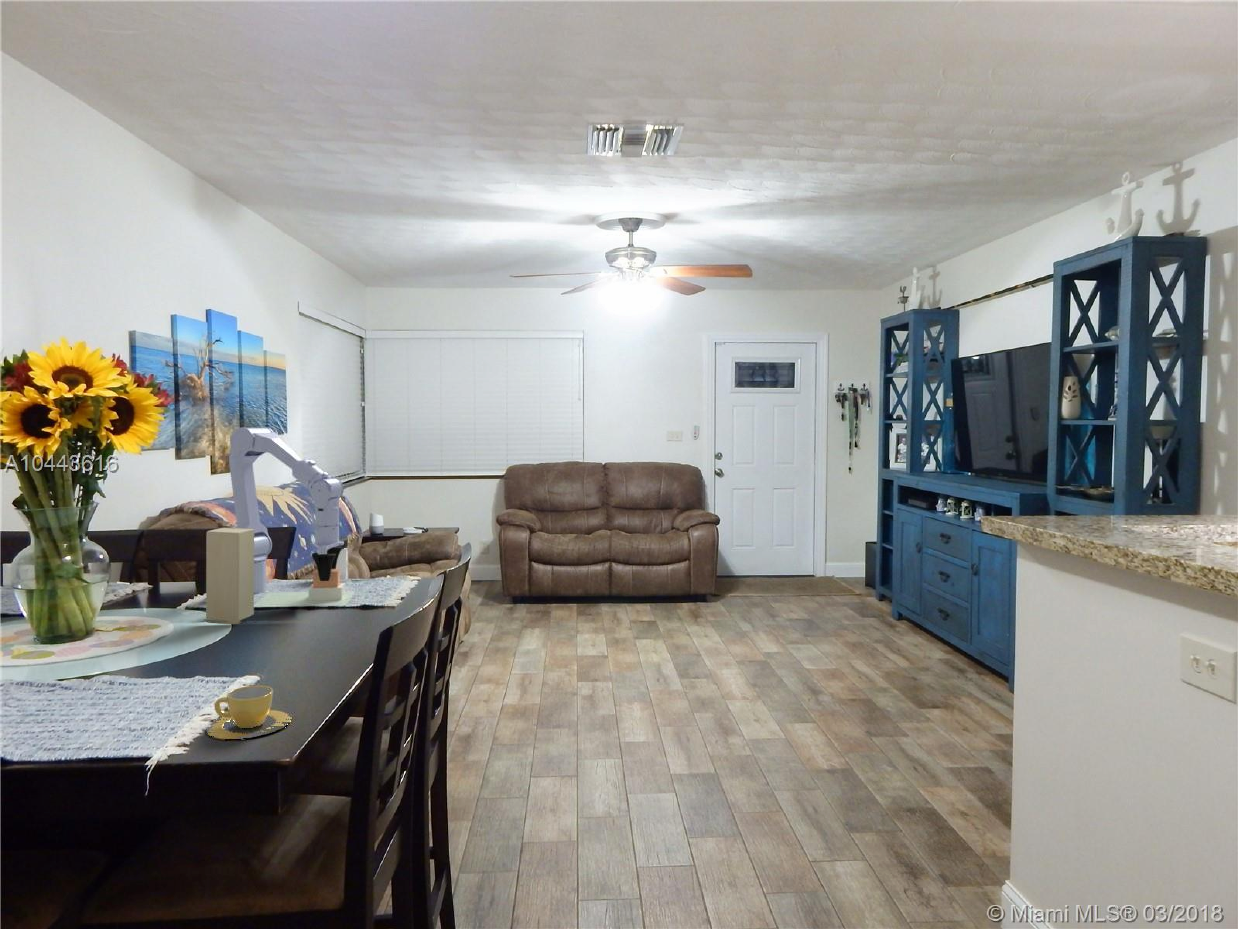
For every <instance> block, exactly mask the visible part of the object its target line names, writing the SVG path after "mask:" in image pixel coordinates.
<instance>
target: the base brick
mask: <svg viewBox="0 0 1238 929" xmlns="http://www.w3.org/2000/svg"><path fill="white" fill-rule="evenodd" d="M345 591H346V583H345V582H340V585H339V586H338V587H325V588H313V584H311V585H310V586H309V587H308V592H309V600H342V599H343V597H344V596H345Z"/></svg>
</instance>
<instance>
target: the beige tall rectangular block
mask: <svg viewBox="0 0 1238 929" xmlns="http://www.w3.org/2000/svg"><path fill="white" fill-rule="evenodd" d="M205 536H206V538H205V539H206V544H205V545H206V546H205V547H206V548H205V549H206V550H205V551H206V552H205V554H206V556H205V559H206V568H205V569H206V570H205V572H206V573H205V574H206V575H205V576H206V577H205V578H206V580H205V583H206V585H205V586H206V587H205V588H206V590H205V595H206V597H205V599H206V600H205V601H206V602H205V610H206V612H205V615H206V616H205V620H206V623H208V624H211V623H212V624H224V625H225V624H229V625H239V624H242V623H244V622H246V621H247V620H246V619H247V618H249V617H251V616H253V615H254V614H255V612H254V611H255V607H254V605H255V593H254V529H239V528H236V527H220V528H215V529H210V530H207V531H206V535H205Z"/></svg>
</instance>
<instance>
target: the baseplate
mask: <svg viewBox="0 0 1238 929" xmlns="http://www.w3.org/2000/svg"><path fill="white" fill-rule="evenodd" d="M355 593H356V590H345V596H344V597H343V599H342V600H309V591H287V592H285V591H284V592H282V591H281V592H279V591H277V592H267V593H266V594H264V596H262V597H261V598H260V599H259V600H258V601H257V602H256V603H254V608H274V607H275V608H278V607H279V608H281V607H316V606H317V607H318V606H319V607H322V606H347V605H348V604H349V602H350V600H351V599H352V597H353V596H354V595H355Z"/></svg>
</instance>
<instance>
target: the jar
mask: <svg viewBox="0 0 1238 929" xmlns="http://www.w3.org/2000/svg"><path fill="white" fill-rule="evenodd" d="M339 541H340V542H344V544H343V545H339V546H341V547H342V550H341V552H340V554H339V556H338V560H337V564H336V569H340V580H346V581H347V580H348V579H349V550H348V549H349V546H348V544H349V542H348V538H347V537H345V536H344V537H343V536H342V537H341V536H339ZM316 551H317V552H316V553H318V549H317V550H316ZM340 583H345V581H340Z"/></svg>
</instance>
